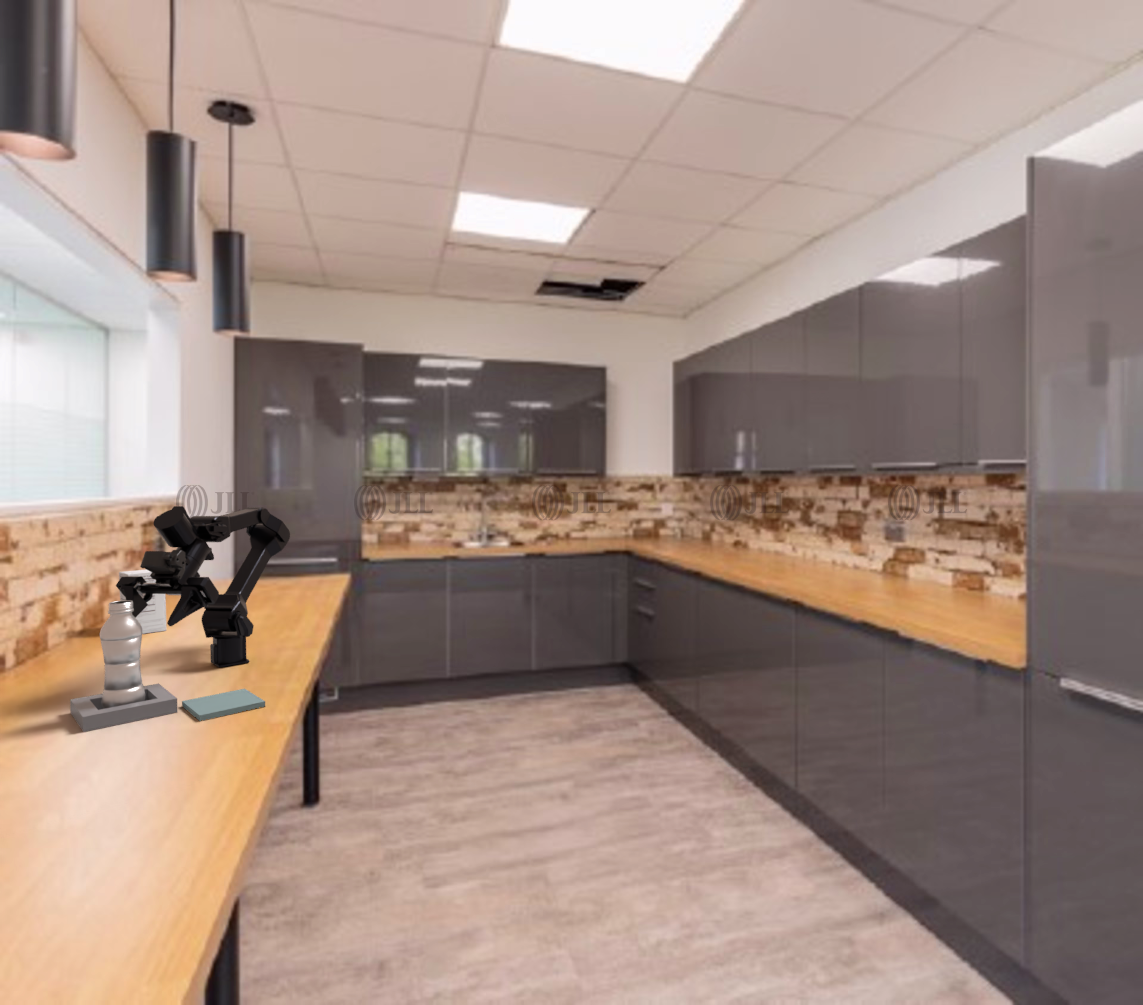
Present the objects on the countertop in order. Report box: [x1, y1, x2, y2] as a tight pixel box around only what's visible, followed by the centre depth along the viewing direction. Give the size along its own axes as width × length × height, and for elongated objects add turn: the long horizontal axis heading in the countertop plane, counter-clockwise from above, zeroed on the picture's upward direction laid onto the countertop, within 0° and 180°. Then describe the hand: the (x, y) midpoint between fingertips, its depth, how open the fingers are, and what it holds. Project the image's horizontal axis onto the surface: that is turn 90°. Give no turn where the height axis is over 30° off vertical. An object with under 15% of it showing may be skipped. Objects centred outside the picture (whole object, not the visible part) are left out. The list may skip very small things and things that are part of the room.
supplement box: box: [118, 569, 167, 635], centre depth 193 cm, size 10×9×17 cm
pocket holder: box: [69, 682, 178, 733], centre depth 125 cm, size 14×13×2 cm
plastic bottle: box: [99, 600, 145, 709], centre depth 124 cm, size 6×7×20 cm
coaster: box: [181, 688, 266, 722], centre depth 128 cm, size 11×11×1 cm
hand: (146, 624), depth 132 cm, fingers open, 9 cm apart
